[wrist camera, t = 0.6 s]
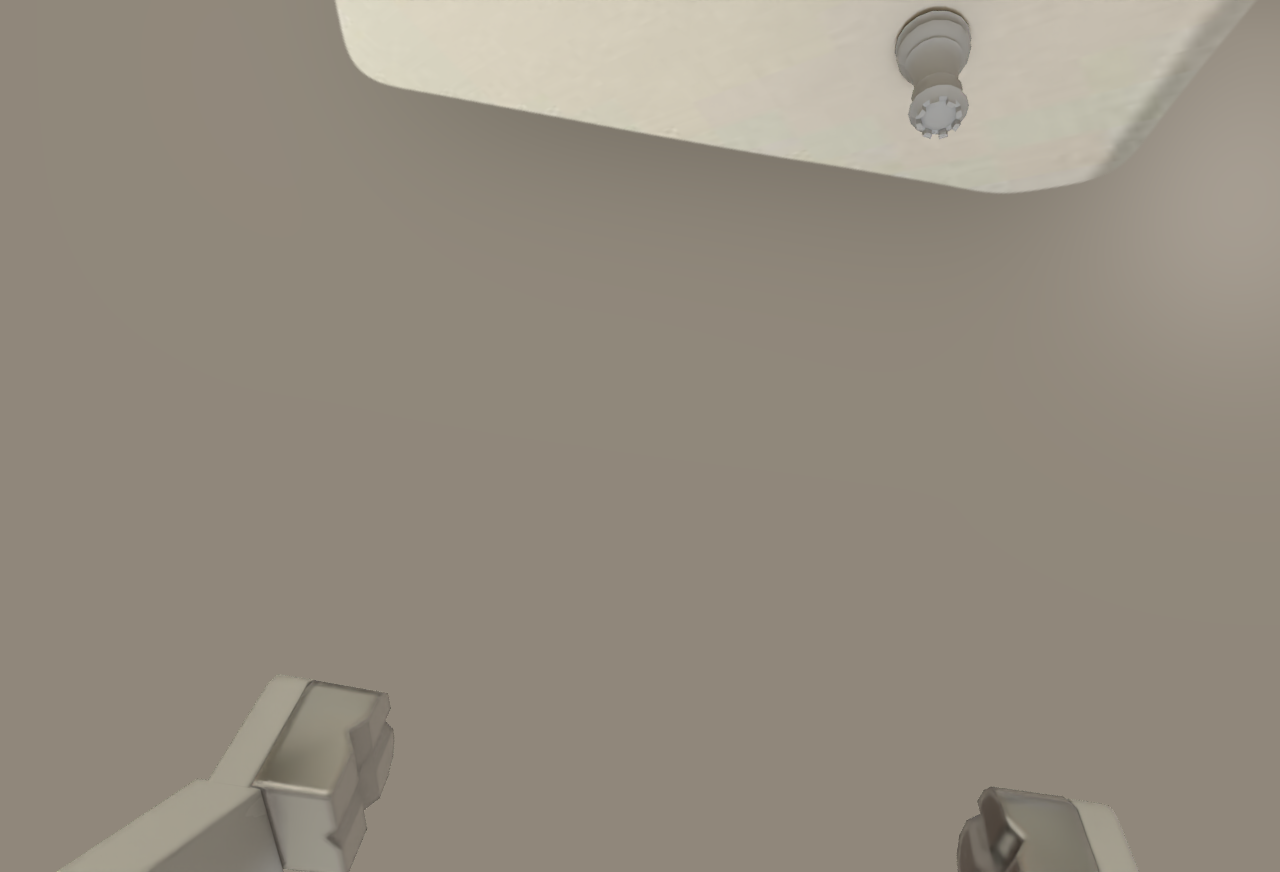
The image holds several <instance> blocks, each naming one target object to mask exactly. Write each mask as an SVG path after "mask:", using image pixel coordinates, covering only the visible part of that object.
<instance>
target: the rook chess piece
mask: <svg viewBox="0 0 1280 872" xmlns="http://www.w3.org/2000/svg"><path fill="white" fill-rule="evenodd" d="M970 42H971V35H970V29H969V26H968V24H967V23H966V22H965V21H964V20H963V18H962V17H961V16H959V15H957V14H954V13H952V12H949V11H931V12H929V13H926V14H923V15H920V16H918V17H916V18H915V19H914V20H913V21H911V22H910V23H909V24H908V25H906V26H905V28H904V29H903V31H902V33H901V34H900V36H899V37H898V39H897V44H896V50H895V54H896V57H897V63H898V67H899V71H900V73H901V74H902V75H903V76H904V78H905V79H906V80H907V81H908V82H909V83H911V84H912V85H913V86H914V90H913V94H912V103H911V105H910V109H909V114H908V115H909V119H910V122H911V124H912V125H913V126H914V127H915V128H916V129H917V130H918V131H920V132H923V136H924V137H926V138H929V139H930V138H931V136H932V134H939V139H941V138H944V137H948V133H947V131H950V130H951V129H953V130H954V131H956V130H957V129H958V127H959V126H960V125H961V123H960V122H961V121H962V120H963V119H964V117H965V116H966V114H967V110H968V106H969V104H968V100H967V96H966V95H965V94H964V93H963V90H962V85H961V82H960V81H959V80H958V75H959V73H960V72H961V70H962V69H963V68H964V66H965V65H966V64H967V61H968V57H969V54H970V50H971V44H970Z"/></svg>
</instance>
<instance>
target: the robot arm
mask: <svg viewBox="0 0 1280 872" xmlns="http://www.w3.org/2000/svg"><path fill="white" fill-rule="evenodd" d="M390 709H391V707H390V702H389V696H388V693H385V692H379V691H373V690H366V689H361V688H356V687H350V686H344V685H338V684H332V683H326V682H321V681H316V680H311V679H305V678H298V677H292V676H286V675H280V674H279V675H277V676H276V677H275V678H274V679H273V680H272V681H271V682H270V683H268V684H267V686H266V687H265V689H264V690H263V692H262V694H261V695H260V697H259V698H258V700H257V702H256V704H255V705H254V707H253V708H252V710H251V712H250V713H249V715H248V716H247V718H246V720H245V721H244V723H243V724H242V726H241V728H240V729H239V731H238V732H237V734H236V736H235V737H234V739H233V741H232V742H231V744H230V745H229V747H228V749H227V750H226V752H225V754H224V755H223V757H222V758H221V760H220V762H219V763H218V765H217V767H216V768H215V770H214V771H213V773H212V775H211V776H210V778H209V779H208V780H203V779H196V780H195V781H193V782H191V783H190V784H188V785H187V786H186V787H184V788H182V789H181V790H179V791H178V792H176V793H175V794H173V795H172V796H170V797H169V798H167V799H166V800H164V801H163V802H161V803H160V804H158V805H157V806H155V807H154V808H152V809H151V810H149V811H148V812H146V813H145V814H143V815H142V816H140V817H139V818H137V819H136V820H134V821H133V822H131V823H129V824H128V825H126V826H125V827H123V828H122V829H120V830H119V831H117V832H116V833H114V834H113V835H112V836H110V837H108V838H107V839H105V840H104V841H103V842H101V843H99V844H98V845H96V846H95V847H93V848H92V849H90V850H89V851H87V852H86V853H84V854H83V855H82V856H80V857H78V858H77V859H75V860H74V861H72V862H70V863H69V864H67V865H66V866H65V867H63V868H61V869H60V870H58V871H57V872H283V869H290V870H296V871H304V872H349V871H350V868H351V866H352V864H353V861H354V859H355V856H356V854H357V851H358V849H359V847H360V844H361V842H362V840H363V837H364V835H365V832H366V830H367V827H366V820H365V814H364V810H365V809H366V808H367V807H369V806H370V805H371V804H372V803H374V802H375V801H376V800H378V799H379V798H380V796H381V793H382V791H383V788H384V786H385V783H386V781H387V778H388V774H389V770H390V766H391V762H392V758H393V750H394V733H393V729H392V728H391V727H390V726H389V725H388V724H387V722H386V718H387V716H388V714H389V711H390ZM978 806H979V809H980V814H979V815H977V816H975V817H973V818H970V819H968V820H967V821H966V823H965V825H964V827H963V829H962V831H961V833H960V835H959V842H958V849H957V866H958V872H1139V870H1138V867H1137V865H1136V862H1135V860H1134V857H1133V855H1132V853H1131V850H1130V847H1129V845H1128V843H1127V840H1126V838H1125V835H1124V833H1123V830H1122V828H1121V825H1120V823H1119V821H1118V818H1117V816H1116V814H1115V813H1114V811H1113V810H1112V809H1111V808H1110V807H1109V806H1108V805H1105V804H1102V803H1095V802H1088V801H1080V800H1073V799H1066V798H1064V797H1062V796H1054V795H1047V794H1040V793H1033V792H1026V791H1019V790H1012V789H1005V788H997V787H989V788H988V789H985V790H984V791H983V792H982V794H981V796H980V798H979V799H978Z"/></svg>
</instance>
